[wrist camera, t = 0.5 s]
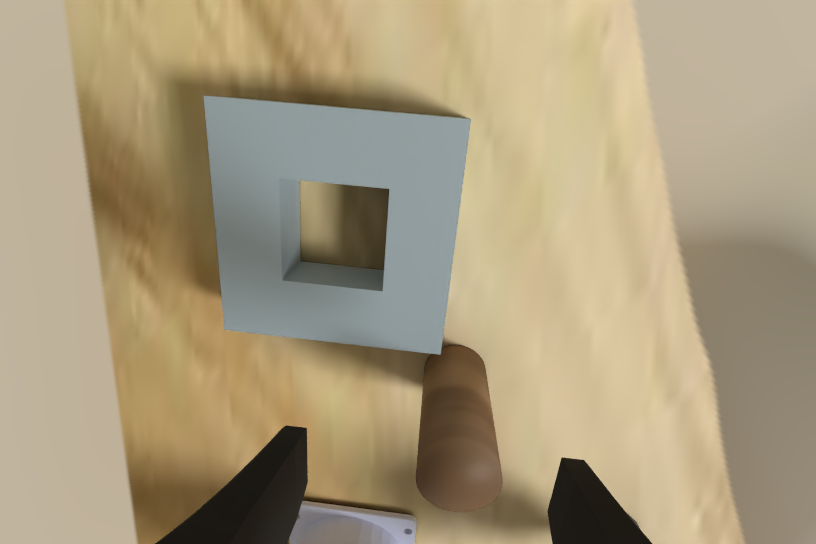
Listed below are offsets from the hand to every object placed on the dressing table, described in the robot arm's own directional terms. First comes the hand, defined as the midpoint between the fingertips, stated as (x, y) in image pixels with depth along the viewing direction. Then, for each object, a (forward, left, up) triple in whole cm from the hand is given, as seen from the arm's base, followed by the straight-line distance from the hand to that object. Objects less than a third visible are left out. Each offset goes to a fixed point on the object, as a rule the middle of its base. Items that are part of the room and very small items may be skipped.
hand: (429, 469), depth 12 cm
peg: (-3, -1, -10) cm, 10 cm away
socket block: (+4, +5, -10) cm, 12 cm away
